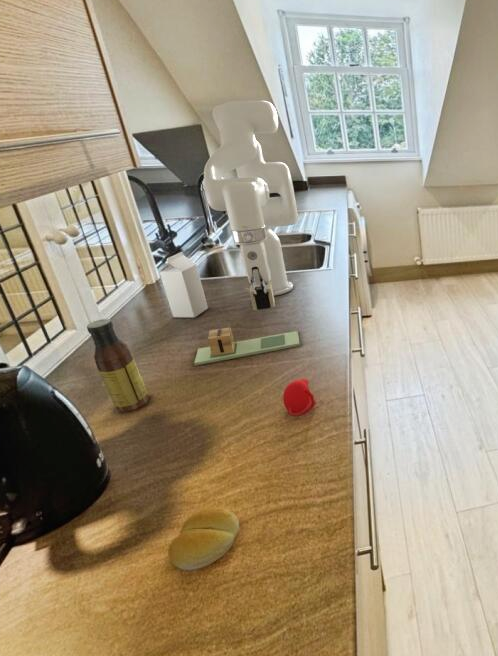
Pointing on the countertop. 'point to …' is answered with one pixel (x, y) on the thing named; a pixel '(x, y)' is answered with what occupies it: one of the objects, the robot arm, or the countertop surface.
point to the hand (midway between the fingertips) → (264, 303)
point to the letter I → (221, 341)
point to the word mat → (250, 347)
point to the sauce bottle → (117, 367)
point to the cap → (298, 398)
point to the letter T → (270, 293)
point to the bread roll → (204, 538)
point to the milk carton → (183, 286)
